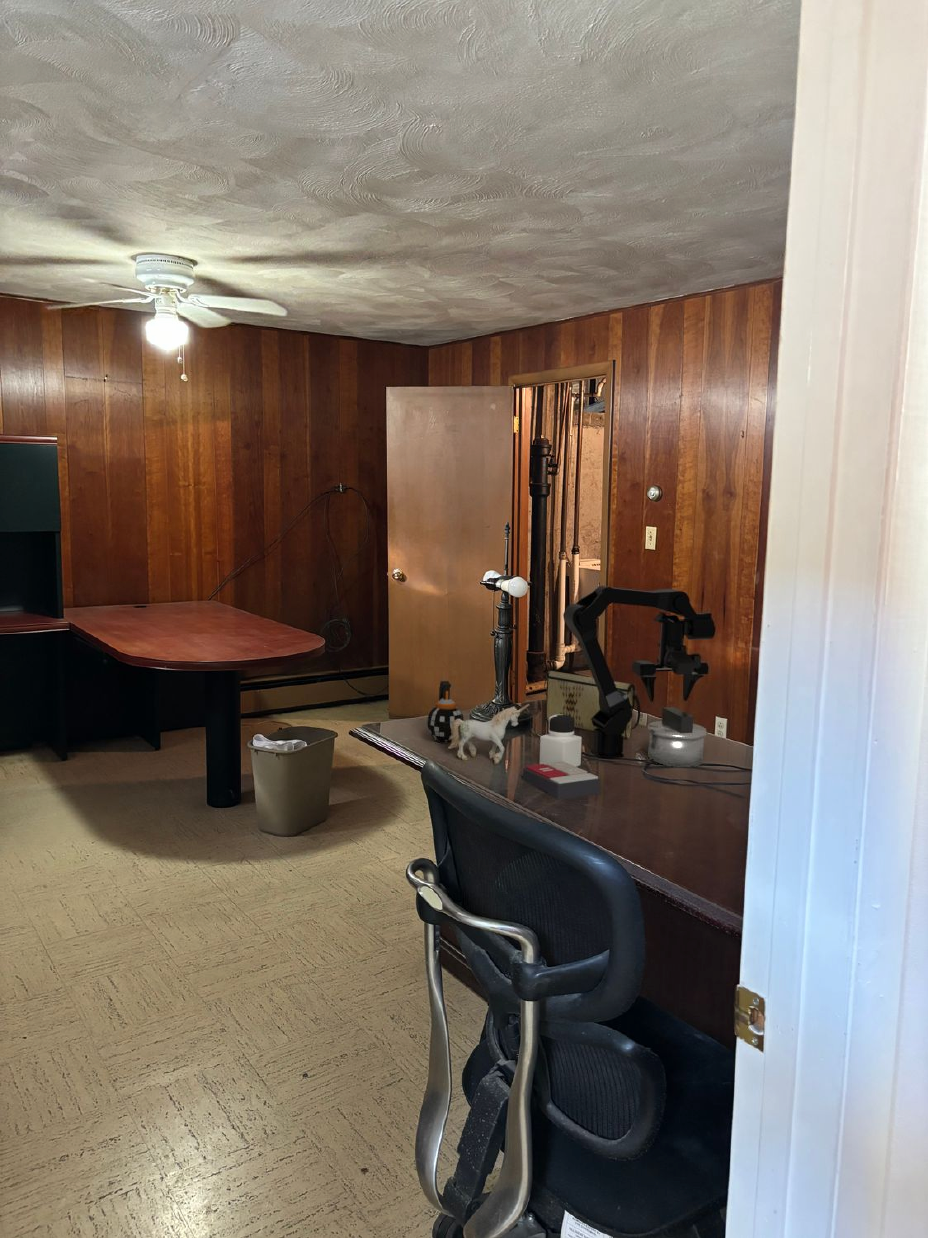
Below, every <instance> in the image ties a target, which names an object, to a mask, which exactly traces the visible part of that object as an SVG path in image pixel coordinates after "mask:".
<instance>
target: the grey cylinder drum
mask: <svg viewBox="0 0 928 1238" xmlns="http://www.w3.org/2000/svg"><path fill="white" fill-rule="evenodd" d="M648 734H649V735H648V748H647V749H648V750H647V751H648V753H647V758H648V757H650V758H652V759H654V761H656V762H658V763H660V764H663V765H662V766H665V765H666V767H671V766H673V767H672V768H692V767H691V766H695V767H699V766H700V765H702V764H703V757H704V744H705V743H704V741H705V737H703V738H699V739H689V740H683V739H671V738H665V737H660V736H656V735H654V734H651V733H650V732H648ZM660 764H659V765H660Z"/></svg>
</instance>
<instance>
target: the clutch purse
mask: <svg viewBox="0 0 928 1238" xmlns="http://www.w3.org/2000/svg"><path fill="white" fill-rule="evenodd" d="M545 675H546V676H545V680H544V685H543V687H544V689H546V690H544V691H545V695H546V697H545V720H546V722H547V723H549V718H550V717H551V716H553V715H558V714H562V715H569V716H571V717H573V718H574V719H575V724H574V728H575V729H576V728H577V729H582V730H586V731H589V732H594V729H596V727H595V726H593V724H592V721H591V718H592V717H593V716H594V715H595V714H596V713H597V712H598V711H599V710H600V706H599V691H598V689H597V686H596V683H595V681H594V678H593V677H590V676H584V675H579V674H573V673H567V672H559V671H554V670H547V671H546V674H545ZM614 683H615V686H616V688H617V689H619V690H621V691H623V692H625V693H626V694H628V697H629V701H630V704H631V706H632V707H633V708H634V709H635V703H636V707H637V708H636V709H637V717H636V721H635V724H634V726H633V727H632V720H633V719H632V718H633V717H632V718H631V720H630V722H629V723H628V724H627V726H626V728H625V731H624V733H623V734H622V736H623V737H624V739H627V740H628V739H629V738H630V736H631V732H632V731H631V730H634V729H635V728H637V726H638V725H639V723H640V719H641V704H640V703H641V702H640V699H639V697H638V695H637V691H636V687H635V685H634V684H633V683H626V682H621V681H615V680H614ZM634 709H631V710H632V712H633V710H634Z"/></svg>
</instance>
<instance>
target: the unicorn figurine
mask: <svg viewBox="0 0 928 1238" xmlns="http://www.w3.org/2000/svg"><path fill="white" fill-rule="evenodd" d="M529 706H530V703H527V704H526V705H524V706H522V707H521V708H519V709H517V707H515V706H511V707H509V708H505V709H502V710H501V711H499V712H497V713H496V714H495V715H493V717H492V718H491V719H490V720H489V721H479V720H476V719H466V720H464V721H462V720H461V719H456V720H455V721H454V722H453V723H452V727H451V733H452V735H451V736H450V738H451V739H452V741H451V743H450V745H449V746H448V747H447V749H448V750H450V749H457V748H458V750H457V754H456V756H457V757H458V758H459V759H462V761H464V762H466V761H469V759H468V757H467V755H465V752H464V745H466V744H467V745H468V750H469V752H470V756H471V757H473V758H475V757H476V756H477V755H476V754H477V748H476V747H475V745H474V744H473V743H472V742H471V740H472V739H473V737H474V738H476V739H478V740H480V741H484V742H485V741H486V742H490V741H491V742H493V743H492V745H491V746H492V748H491V750H489V753H488V755H489V760H491V759H493V763H494V765H497V764H499V763H500V761H501V760H502V758H503V755H504V752H505V747H504V745H503V742H502V740H503V739H504V737H505V733H506V727H507V726H508V723H509V721H510V722H511V724H510V725H511V726H512V727H516V726H518V725H519V722H518V720H519V719H518V718H519V716H520V715H521V713H522V712H523V711H524V710H525V709H526V708H528V707H529ZM459 726H460V727H459ZM460 732H461V735H460ZM497 747H498V748H499V752H497V753H496V750H497Z"/></svg>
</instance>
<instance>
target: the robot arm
mask: <svg viewBox="0 0 928 1238" xmlns="http://www.w3.org/2000/svg"><path fill="white" fill-rule="evenodd" d="M690 600H691V599H690V597H689V595H688V593H687V592H685V591H682V590H678V589H674V588H661V589H655V590H641V589H640V590H639V589H630V588H623V587H622V588H620V587H612V586H611V587H610V586H607V585H600V586H598V587H597V588H595V589H594V590H593V591H592V592H590V593H588V594H587V595H586V596H583V597H582V598H580V599H579V600H578V601H577V602H576V603H572V604H569V605H568V606H567V607H566V608H565V610H564V612H563V615H562V617H563V621H564V622H565V624H566V626H567V627H568V629H569V631H570V632H571V633H572V635H573V636H574V637H575V639H576V640H577V641H578V643H579V645H580V648H581V650H582V654H583V655H584V658H585V661H586V663H587V666H588V668H589V671H590V673H591V676H592V678H594V681H595V683H596V686H597V689H598V691H599V706H600V710H599V711H598V712H597V713H596V714H595V715H594V716H593V717H592V718H591V721H592V724H593V726H595V727H596V729H594V731H593V739H592V740H593V742H592V743H593V746H592V748H590V749H589V750H590V752H591V753H593V754H594V755H595V756H597V757H598V758H600V759H601V758H602V759H603V758H615V757H616V758H619V757H620V758H621V757H624V756H625V754H624V753H623V752H624V739H625V738H624V737H623V736H622V734H623V733H624V731H625V728H626V726H627V724H628V723H629V722H630V720H631V718H633V711H632V710H631V709H633V710H634V709H635V707H634V708H633V707H632V706H631V704H630V701H629V697H628V694H626V693H625V692H623V691H621V690H619V689H617V688H616V686H615V683H614V681H615V680H614V678H613V675H612V672H611V671H610V668H609V665H608V662H607V660H606V657H605V655H604V653H603V650H602V647H601V645H600V642H599V640H598V623H597V619H598V618H599V617H600V616H602V615H603V613H604V612H605V611H606V609H607V608H608V607H609V605H610V604H620V605H629V606H640V607H648V608H649V607H651V608H655V609H657V610H660V611H659V613H658V614H657V615H656V616H654V617H653V618H652V620H653V622H657V623H661V624H660V625H661V626H660V641H658V642H657V647H659V655H658V658H656V663H653V662H651V661H649V660H634V661H633V663H631V672H632V673H634V674H635V675H636V676H638V677H639V678H640V680H641V681H642V684H643V685H644V688H645V690H646V694H647V696H648V699H649V701H650V702H651V703H653V702H654V699H655V682H656V680H657V676H656V675H655V674H656V672H673V674H675V675H678V676H681V675H682V698H683V701H684V702H687V701H688V699H689V697H690V695H691V693H692V690H693V688H694V686H695V684H696V682H697V681H699V680H700V679H701V678H704V677H705V675H709V674H710V665H709V663H708V662H706V661H703V660H702V656H701V654H700V653H692V654H690V653H689V654H688V652H687V649H688V648H687V645H685V637H686V639H687V640H690V641H692V640H695V641H696V640H697V641H698V640H699V641H700V640H703V641H704V640H705V641H706V640H712V639H713V638H714V636H715V634H716V626H715V622H714V619H713V618H712V616H713V614H712V613H711V612H707V611H706V612H704V611H703V612H696V611H695V610H694V608H693V606H692V604H691V603H690V602H691V601H690ZM661 611H662V612H661ZM663 611H664V612H663ZM665 612H667V613H672V614H673V615H672V614H668V615H667V614H666V613H665ZM679 617H683V618H679ZM631 721H632V720H631Z"/></svg>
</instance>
